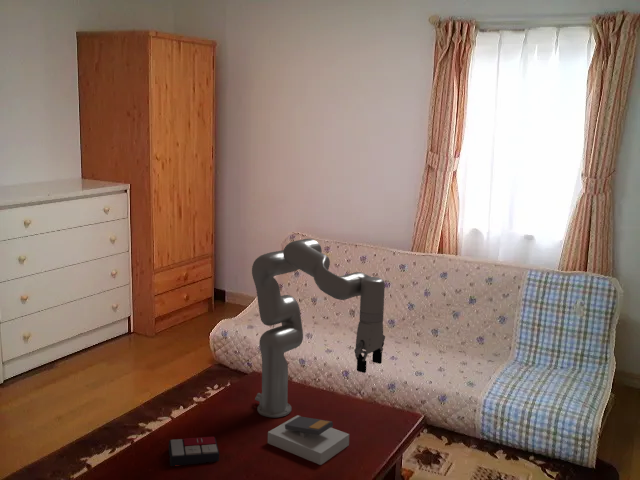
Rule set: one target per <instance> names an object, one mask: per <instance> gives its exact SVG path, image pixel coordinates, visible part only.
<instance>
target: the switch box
mask: <svg viewBox="0 0 640 480" xmlns="http://www.w3.org/2000/svg"><path fill="white" fill-rule="evenodd" d="M299 416H300V415H298V414H297V415H295V416H294V417H291V418H290V419H288V420H287V421H284V422H283V423H281V424H280V425H278V426H276V427H275V428H272V429H271V430H268V432H267V444H268V445H271V446H274V447H275V448H279V449H281V450H283V451H285V452H288V453H290V454H293V455H296V456H298V457H300V458H302V459H305V460H307V461H310V462H311V463H315V464H317V465H319V466H322V465H323V464H325V463H326V462H328V461H329V460H331V459H332V458H333V457H335V456H336V455H337V454H339V453H340V452H342V451H343V450H344V449H346V448H347V447H349V445H350V433H347V432H345V431H341V430H339V429H336V428H333V427H331V428H329V429H327V430H326V431H324V432H323V433H321V434H320V435H315V434H310V433H304V432H299V431H293V430H287V429H285V424H287V423H289V422H291V421H292V420H294V419H296V418H297V417H299Z"/></svg>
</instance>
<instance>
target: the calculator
mask: <svg viewBox="0 0 640 480" xmlns="http://www.w3.org/2000/svg"><path fill="white" fill-rule="evenodd" d="M169 456H170V458H169V466H175V465H184V466H186V465H200V464H206V462H209V463H215V462H216V461H217V462H219V461H220V451H219V447H218V442H217V439H216V437H215V436H203V437H201V436H200V437H199V436H198V437H187V438H186V437H185V438H183V439H182V438H180V439H179V438H177V439H169V440H168V457H169ZM199 463H200V464H199Z"/></svg>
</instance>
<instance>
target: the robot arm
mask: <svg viewBox="0 0 640 480" xmlns="http://www.w3.org/2000/svg"><path fill="white" fill-rule="evenodd" d="M322 251H323V250H322V247H321V244H320V243H319V242H318V241H317V240H315V239H313V238H304V239H298V240H294V241H291V242H289V243H287V244H286V245H285V247H284V248H283V250H276V251H272V252H267V253H264V254H262V255H260V256H258V257H257V258H255V260H254V261H253V263H252V265H251V275H252V276H251V277H252V279H253V283H254V285H255V291H256V298H257V305H258V311H259V313H258V314H259V317H260V321H261V322H262V323H263V325H265V326H276V325H279V324H281V325H280V326H277V327H273V328H270V329H268V330H266V331H264V332H263V333H262V334H261V336H260V337H259V349H260V354H261V355H260V356H261V393H260V392H257V394H256V396H255V398H254V400H255V401H257V402H259V405H258V406H257V413H258V414H259V415H260V416H263V417H266V418H270V419H271V418H273V419H274V418H276V419H277V418H282V417H285V416H288V415H289V414H291V412H292V405H291V404H290V403H288V391H289V389H288V387H289V386H288V385H289V384H288V383H289V365H288V361H287V359H286V357H285V353H287V352H289V351H292V350H294V349H297V348H298V347H300V346H301V345H302V343H303V342H304V341H303V339H304V331H303V324H302V323H303V322H302V316H301V309H300V305H299V303H298V301H297V300H296V298H294V297H293V296H292V295H290V294H284V295H282V294H281V288H280V285H279V282H278V281H277V279H276V278H275V277H276V276H280V275H281V276H282V275H285V274H289V273H293V272H296V271H298V270H300V271H302V272H303V273H305V274H306V275H309V276H310V277H313V280H314V282H315V285H316V286H317V288H318V289H319V290H320V291H321V292H323V293H325V294H327V295H328V296H329V297H331V298H333V299H336V300H339V301H345V300H348V299H349V300H350V299H351V298H355V297H360V298H359V299H360V300H359V301H360V302H359V322H358V325H357V330H356V339H355V349H354V351H353V352H354V356H355V359H356V371H357V372H360V373H363V374H366V373H367V364H368V363H367V357H368V355H369V354H371V353H372V360H371V361H372V363H376V364H379V365H381V364H382V360H383V350H384V348H383V347H384V345H385V341H386V340H385V339H386V336H385V335H384V311H385V291H386V290H385V287H386V284H385V281H384V279H382V278H380V277H376V276H370V275H368V274H366V273H364V272H360V271H356V272H352V273H348V274H344V275H341V276H339V275H337V274H335V273H333V272H331V271H330V270H329V268H330V265H331V264H330V263H331V261H330V257H328V255H326V254H324V253H322ZM362 354H363V355H362Z"/></svg>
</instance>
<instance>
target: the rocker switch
mask: <svg viewBox="0 0 640 480" xmlns="http://www.w3.org/2000/svg"><path fill="white" fill-rule="evenodd" d="M333 427H334V422H333V421H331V420H326V419H325V420H324V419H320V418H312V417H305V416H301V415H299V417H297V418H296V419H294V420H292V421H291V422H289V423H287V424H285V429H287V430H293V431H299V432H304V433H310V434H315V435H320V434H321V433H323V432H324V431H326V430H327V429H329V428H333Z"/></svg>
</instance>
